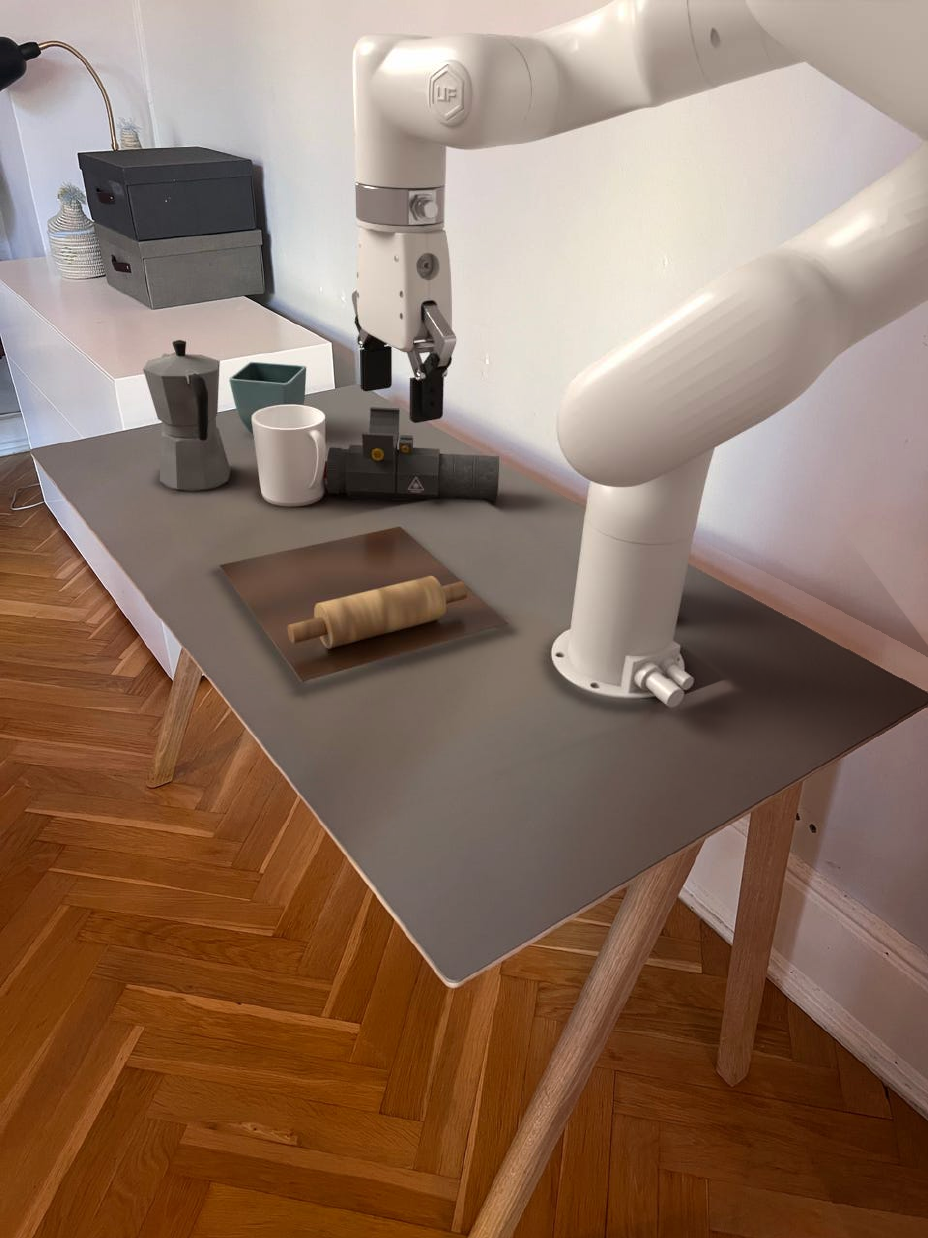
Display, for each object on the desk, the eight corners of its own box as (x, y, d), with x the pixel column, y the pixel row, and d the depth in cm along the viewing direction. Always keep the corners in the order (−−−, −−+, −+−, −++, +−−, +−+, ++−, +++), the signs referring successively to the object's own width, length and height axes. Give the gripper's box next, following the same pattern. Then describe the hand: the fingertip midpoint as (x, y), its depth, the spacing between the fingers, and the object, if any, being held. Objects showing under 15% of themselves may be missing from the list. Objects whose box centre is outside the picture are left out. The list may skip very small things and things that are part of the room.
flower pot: (233, 439, 132) (227, 378, 128) (255, 418, 140) (250, 360, 135) (291, 445, 131) (287, 383, 127) (310, 424, 139) (307, 365, 134)
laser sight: (496, 516, 114) (501, 440, 109) (317, 508, 114) (313, 431, 109) (496, 484, 122) (500, 413, 117) (329, 477, 122) (326, 404, 117)
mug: (243, 492, 117) (236, 415, 112) (299, 474, 123) (294, 399, 117) (297, 520, 111) (292, 440, 105) (353, 499, 117) (351, 422, 111)
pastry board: (507, 631, 92) (508, 622, 91) (301, 690, 82) (301, 681, 81) (399, 533, 109) (400, 526, 109) (219, 572, 99) (218, 564, 99)
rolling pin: (459, 613, 94) (478, 608, 90) (290, 659, 86) (303, 655, 82) (448, 572, 94) (466, 565, 90) (278, 614, 86) (290, 608, 82)
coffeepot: (147, 465, 123) (127, 330, 113) (216, 454, 127) (202, 323, 118) (177, 510, 112) (157, 364, 102) (251, 497, 116) (239, 356, 106)
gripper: (494, 221, 73) (483, 426, 82) (391, 191, 85) (391, 373, 94) (411, 225, 69) (410, 440, 78) (317, 194, 81) (325, 383, 90)
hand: (400, 403), depth 86 cm, fingers open, 9 cm apart
